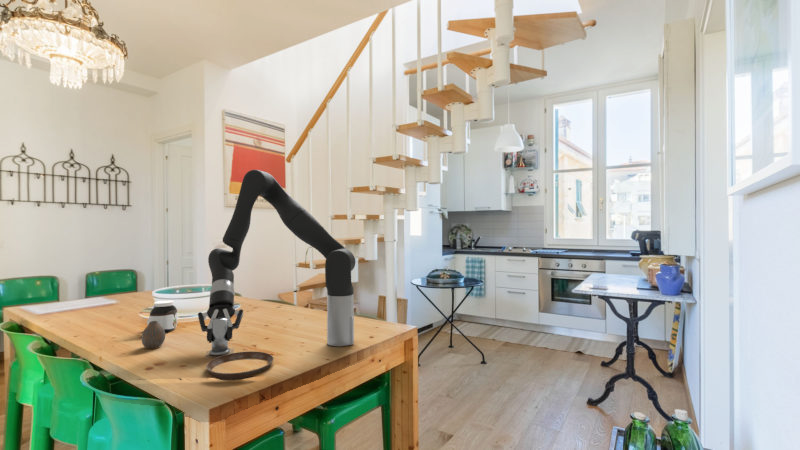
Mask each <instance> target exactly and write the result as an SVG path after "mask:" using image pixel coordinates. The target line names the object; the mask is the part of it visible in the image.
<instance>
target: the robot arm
mask: <svg viewBox="0 0 800 450" xmlns="http://www.w3.org/2000/svg"><path fill="white" fill-rule="evenodd" d="M259 197H261V198H263V199H264V200H265V201H267V202H268V203H269V204H270V205H271V206H272V207H273V208H274V209H275V210H276V212H277V214H278V216H279V218H280V219H281V221H282V224H284V226H286V228H287V229H289V231H290V232H291V233H292V234H294V236H296V237H297V238H298V239H299V240H301V241H303V242H304V243H305V244H306V245H309V246H310V247H313V248H314V249H315V250H317V252H319V253H320V254H321V255H322V257H324V258H325V264H324V269H325V270H324V272H325V273H324V275H325V276H324V277H325V288H326V291H327V292H326V296H327V298H326V299H327V301H326V303H327V308H326V310H327V314H326V315H327V316H326V318H327V319H326V324H327V325H326V328H327V331H326V334H327V335H326V336H327V337H326V338H327V339H326V340H327V345H328V346H332V347H345V346H353V345H354V341H355V314H354V286H353V284H352V271H353V270H354V269H355V267H356V258H355V256H354V253H352V251H350V250H349V248H347V247H345V246H344V245H343V244H341V243H340V242H338V240H336V239H335V238H334V237H333V236H331V234H330V233H329V232H328V231H327V230H326V229H325V228H324V226H323V225H322V224H321V223H320V222H319V221H318V220H317V219H316V218H315V217H314V216H313V215H312V214H311V213H310V212H309V211H308V210H307V209H306V208H305V207H303V206H302V205H301V204H300V203H299V202H298V201H297V200H295V199H294V198H293V197H292V196H291V195H290V194H289V193H288V192H287V191H286V190H285V189H284V188H283V187H282V186H281V185H280V183H279V182H278V181H277V180H276V178H275V177H274V175H272V174H270V173H269V172H268V171H267V172H266V171H263V170H261V169H260V170H259V169H250V170H249V171H247V172H246V173H245V175H244V176H243V178H242V182H241V185H240V189H239V193H238V196H237V201H236V204H235V207H234V211H233V213H232V214H233V215H232V216H231V219H230V221H229V223H228V226H227V228H226V231H225V232H224V235H223V237H222V243H223V244H224V245H226V246H228V247H230V248H232V251H230V250H226V249H222V248H213V250H211V251H210V252H209V254H208V258H207V259H208V260H207V261H208V266H209V269H210V273H211V278H212V279H211V286H210V291H209V303H208V309H207V310H206V312H198V313H197V317H198V321H199V325H200V329H201V332H202V333H205V332H206V341H207V342H208V343H209V344H212V319H213V318H218V317H227V318H228V331H227V341H228V342H230V340H232V339H233V331H234V330H235V329H236V330H238V329H239V328H240V325H241V322H242V320H243V316H244V310H243V309H239V310H236V309H235V287H234V286H235V285H234V284H235V280H234V278H235V274H234V272H233V271H235V270H236V269H237V268H238V266H239V265H240V260H241V251H242V248H243V247H242V246H243V243H244V242H245V239H246V238H247V235H248V232H249V230H250V227H251V220H252V212H253V208H254V206H255V203H256V201H257V200H258V198H259ZM234 315H235V318H236V319H235V321H234V323H232V317H233V316H234ZM207 317H208V319H210V320H209V322H208V324H207V325H206V323H205V320H207V319H206V318H207Z"/></svg>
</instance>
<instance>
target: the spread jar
mask: <svg viewBox="0 0 800 450" xmlns="http://www.w3.org/2000/svg"><path fill="white" fill-rule="evenodd" d="M174 303H175V301H174V300H158V301H155V302H153V307H152V308H151V310H150V312H149V316H148V319H147V322H146V325H147V326H148V324H149V322H151V321H158V323H159V324H160V325H161V326H162V327H163V329H164V331H165V334H166V333H171V332H173V331H175V329H176V328H177V326H178V325H177V324H178V309H177V307H176V306H175V305H174ZM170 331H171V332H170Z"/></svg>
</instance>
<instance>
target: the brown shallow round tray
mask: <svg viewBox="0 0 800 450" xmlns="http://www.w3.org/2000/svg"><path fill="white" fill-rule="evenodd" d="M243 359H244V360H245V359H246V360H247V359H257V360H258V359H259V360H264V361H266V362H268V364H265V365H264V366H261V367H259V368H255V369H252V370H247V371H241V372H227V373H226V372H218V371H214V370H213V369H214V368H215V367H217V366H219V365H221V364H224V363H228V362H231V361H235V360H236V361H237V360H243ZM273 361H274V356H273V355H272V354H270V353H267V352H262V351H253V350H251V351H238V352H233V353H231V354H227V355H223V356H220V357H217V358H212V359H211V360H210V361H209V362H208V363H206V370H207V371H208V373H210V374H211V376H213V377H214V378H216V379H217V380H223V381H239V380H240V381H241V380H246V379H247V380H248V379H252V378H254V376H255V375H256V374H259V373H261V372H262V373H263V372H264V371H266V370H267V369H269V367H270V366H271V365H272V363H273Z"/></svg>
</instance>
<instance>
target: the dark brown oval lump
mask: <svg viewBox="0 0 800 450" xmlns="http://www.w3.org/2000/svg"><path fill="white" fill-rule="evenodd" d="M165 339H166V333H165V331H164V329H163V327H162V326H161V325H160V324H159V323H158V321H151V322H149V324H148V325H147V326H146V327H145V328H144V329H143V331H142V333H141V339H140V340H141V344H142V345H143V347H144V348H146V349H147V350H149V349H150V350H152V349H157V348H160V347H161V346H162V345H163V344H164V342H165Z"/></svg>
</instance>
